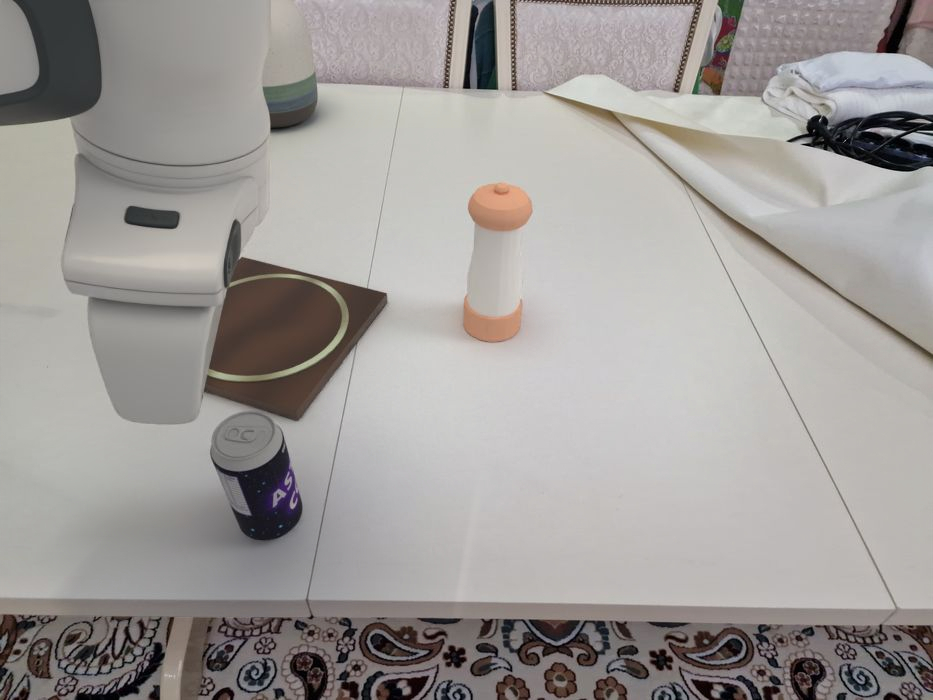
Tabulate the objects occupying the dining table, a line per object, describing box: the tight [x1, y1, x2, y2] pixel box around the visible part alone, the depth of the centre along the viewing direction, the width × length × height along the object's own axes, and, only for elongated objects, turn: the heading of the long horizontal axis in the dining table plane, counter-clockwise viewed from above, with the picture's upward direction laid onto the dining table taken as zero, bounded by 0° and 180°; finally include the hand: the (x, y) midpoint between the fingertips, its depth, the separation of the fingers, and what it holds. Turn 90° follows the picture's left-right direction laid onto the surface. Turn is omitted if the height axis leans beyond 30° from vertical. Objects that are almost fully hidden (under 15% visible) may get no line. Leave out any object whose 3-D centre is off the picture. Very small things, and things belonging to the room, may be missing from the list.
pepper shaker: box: [462, 182, 533, 343], centre depth 71 cm, size 7×7×19 cm
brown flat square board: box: [204, 256, 388, 422], centre depth 75 cm, size 22×22×2 cm
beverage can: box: [209, 410, 303, 542], centre depth 52 cm, size 6×6×12 cm
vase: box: [262, 0, 319, 129], centre depth 115 cm, size 17×17×24 cm
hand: (200, 352), depth 41 cm, fingers open, 8 cm apart
